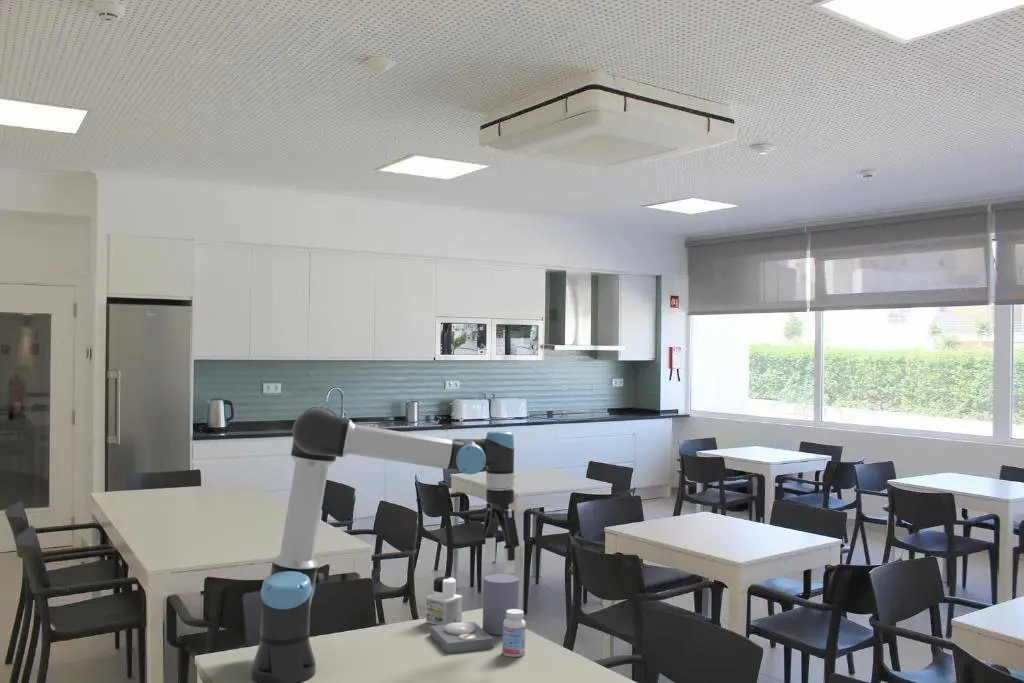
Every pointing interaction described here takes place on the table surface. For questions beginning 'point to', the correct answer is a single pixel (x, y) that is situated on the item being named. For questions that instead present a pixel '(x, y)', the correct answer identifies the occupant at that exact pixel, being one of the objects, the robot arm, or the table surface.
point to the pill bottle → (514, 633)
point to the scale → (461, 637)
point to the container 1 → (444, 603)
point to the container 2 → (499, 601)
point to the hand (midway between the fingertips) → (499, 567)
